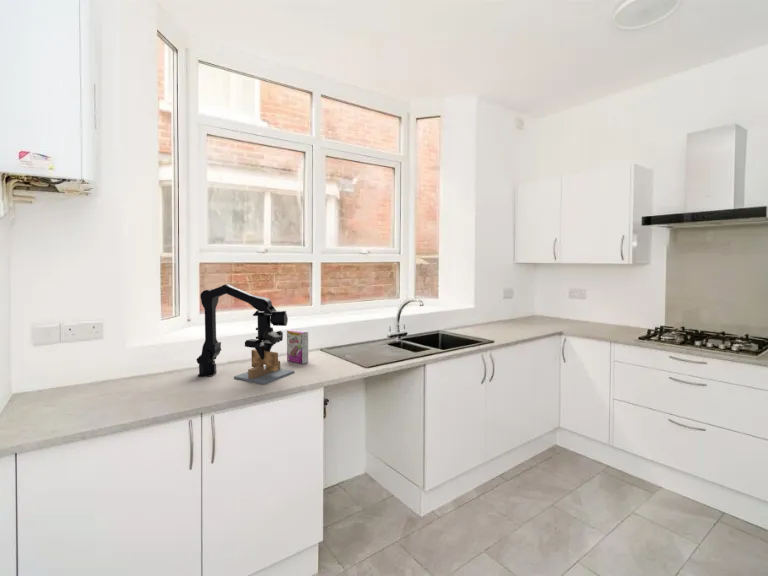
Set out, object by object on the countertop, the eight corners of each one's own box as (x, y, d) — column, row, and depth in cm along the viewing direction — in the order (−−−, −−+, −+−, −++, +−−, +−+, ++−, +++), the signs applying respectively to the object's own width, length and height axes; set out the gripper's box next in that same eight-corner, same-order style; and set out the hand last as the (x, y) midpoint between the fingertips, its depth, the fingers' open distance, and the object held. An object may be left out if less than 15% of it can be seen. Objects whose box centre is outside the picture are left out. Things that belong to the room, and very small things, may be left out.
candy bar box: (286, 361, 212) (286, 330, 211) (293, 359, 216) (293, 329, 215) (302, 364, 206) (301, 332, 205) (308, 362, 210) (308, 331, 209)
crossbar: (251, 366, 188) (251, 350, 188) (255, 365, 191) (255, 349, 190) (274, 371, 182) (274, 353, 181) (278, 369, 184) (278, 352, 184)
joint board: (263, 384, 174) (263, 373, 173) (234, 378, 182) (233, 367, 181) (294, 372, 191) (294, 362, 191) (265, 367, 200) (265, 357, 199)
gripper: (262, 330, 173) (262, 366, 174) (291, 324, 189) (291, 356, 191) (243, 328, 178) (244, 362, 179) (273, 322, 194) (273, 353, 196)
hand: (264, 358), depth 186 cm, fingers closed on crossbar, 2 cm apart
